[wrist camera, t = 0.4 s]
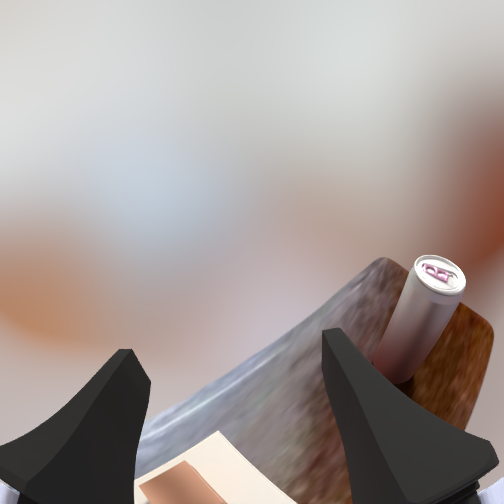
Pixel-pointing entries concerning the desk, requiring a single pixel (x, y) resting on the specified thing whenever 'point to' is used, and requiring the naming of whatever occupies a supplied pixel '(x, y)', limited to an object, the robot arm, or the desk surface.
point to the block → (180, 487)
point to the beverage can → (419, 317)
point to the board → (222, 474)
